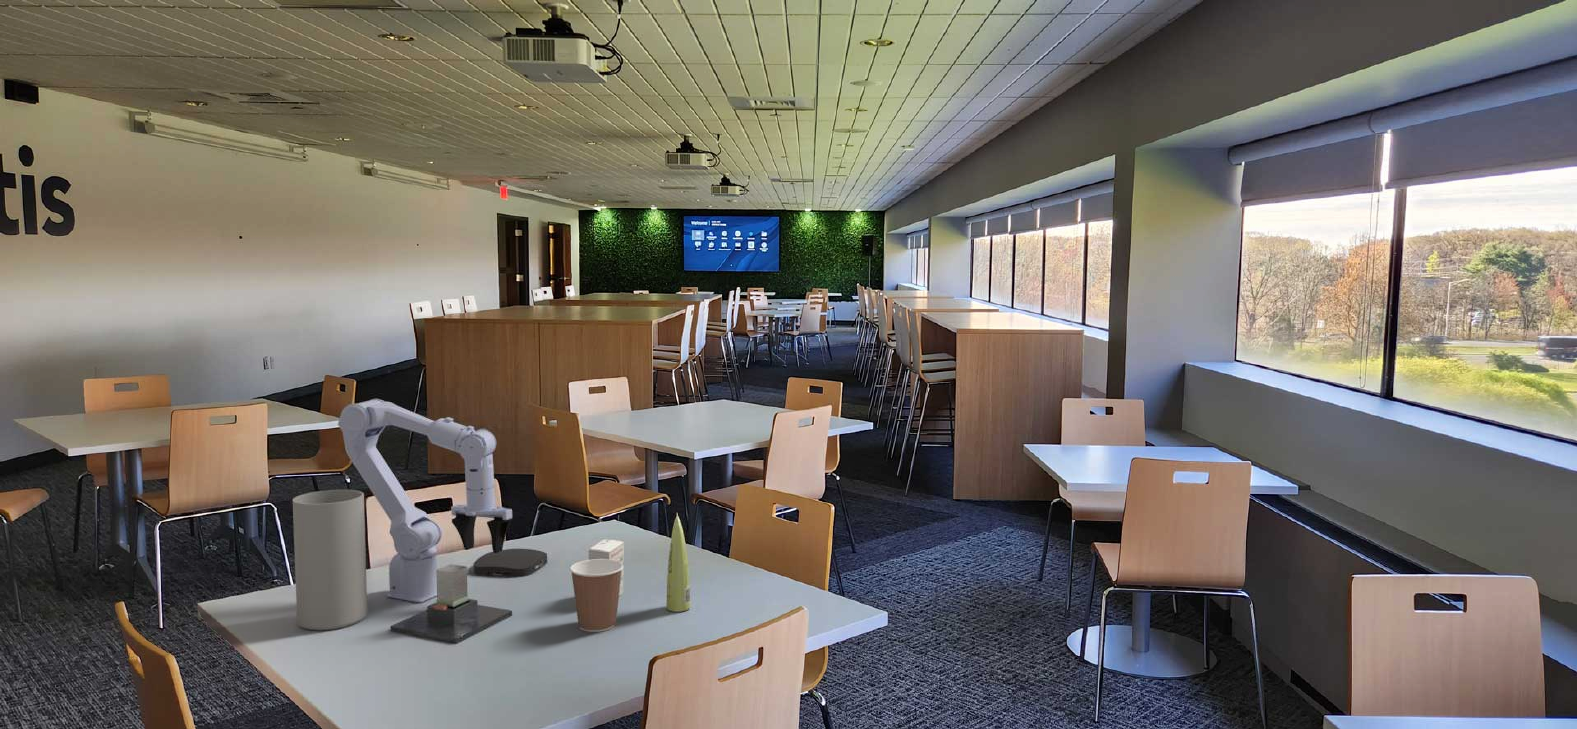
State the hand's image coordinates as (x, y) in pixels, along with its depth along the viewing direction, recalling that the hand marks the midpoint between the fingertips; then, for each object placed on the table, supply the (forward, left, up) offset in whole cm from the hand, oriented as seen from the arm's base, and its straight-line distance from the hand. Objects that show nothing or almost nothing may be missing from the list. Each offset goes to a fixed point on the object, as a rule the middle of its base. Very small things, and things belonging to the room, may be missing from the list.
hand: (483, 550), depth 193 cm
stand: (+4, -14, -10) cm, 18 cm away
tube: (+41, +11, -11) cm, 44 cm away
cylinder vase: (-19, -22, -11) cm, 31 cm away
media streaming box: (-9, +20, -11) cm, 24 cm away
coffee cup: (+31, -4, -11) cm, 33 cm away
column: (+4, -14, -6) cm, 16 cm away
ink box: (+24, +10, -11) cm, 28 cm away
